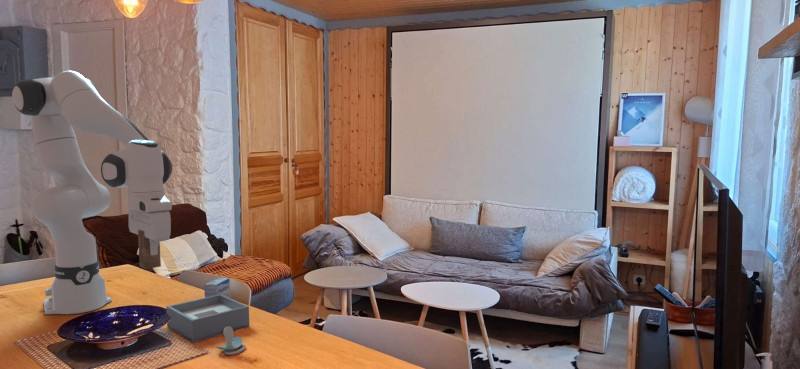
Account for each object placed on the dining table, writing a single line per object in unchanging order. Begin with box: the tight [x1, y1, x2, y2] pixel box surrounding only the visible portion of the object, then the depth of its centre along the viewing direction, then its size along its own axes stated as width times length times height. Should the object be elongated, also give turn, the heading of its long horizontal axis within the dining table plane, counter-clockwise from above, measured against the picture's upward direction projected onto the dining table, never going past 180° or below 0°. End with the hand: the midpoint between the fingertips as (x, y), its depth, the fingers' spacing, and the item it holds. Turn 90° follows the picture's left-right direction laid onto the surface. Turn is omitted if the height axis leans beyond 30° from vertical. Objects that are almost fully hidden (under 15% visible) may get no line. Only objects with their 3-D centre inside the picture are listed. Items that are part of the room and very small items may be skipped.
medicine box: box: [203, 277, 231, 298], centre depth 174 cm, size 8×4×9 cm, turn 168°
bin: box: [166, 294, 250, 343], centre depth 157 cm, size 17×17×6 cm
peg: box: [137, 229, 162, 270], centre depth 147 cm, size 4×4×10 cm
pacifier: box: [216, 326, 247, 356], centre depth 140 cm, size 7×6×6 cm
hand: (149, 253), depth 147 cm, fingers closed on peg, 4 cm apart
